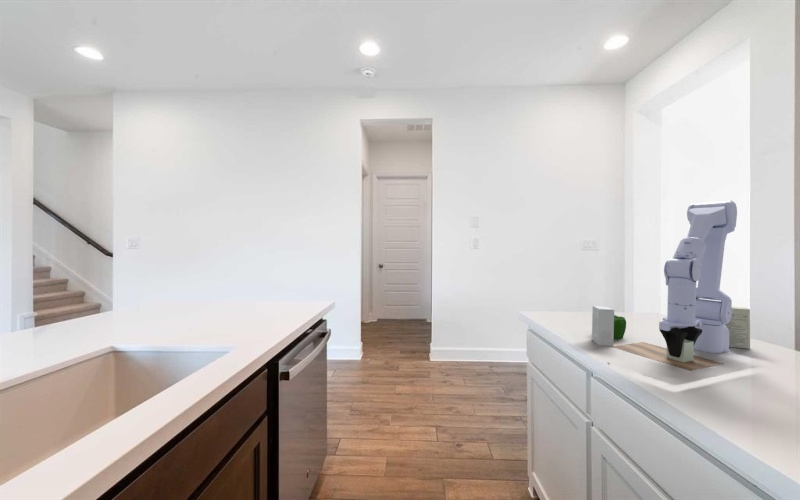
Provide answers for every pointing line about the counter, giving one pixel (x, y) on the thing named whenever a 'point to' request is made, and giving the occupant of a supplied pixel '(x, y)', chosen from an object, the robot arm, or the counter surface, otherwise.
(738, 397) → the counter surface
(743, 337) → the skincare box
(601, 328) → the skincare box
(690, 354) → the sage cube with dome
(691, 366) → the board
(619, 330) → the bell pepper
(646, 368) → the counter surface
